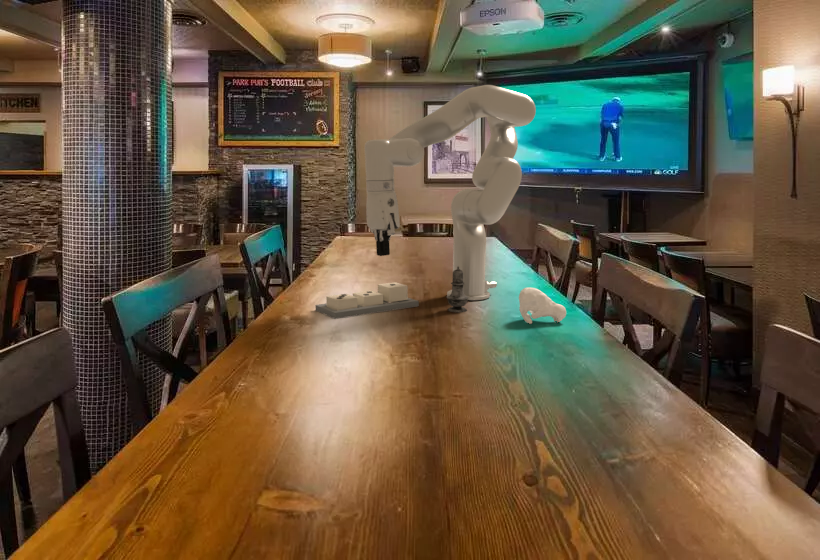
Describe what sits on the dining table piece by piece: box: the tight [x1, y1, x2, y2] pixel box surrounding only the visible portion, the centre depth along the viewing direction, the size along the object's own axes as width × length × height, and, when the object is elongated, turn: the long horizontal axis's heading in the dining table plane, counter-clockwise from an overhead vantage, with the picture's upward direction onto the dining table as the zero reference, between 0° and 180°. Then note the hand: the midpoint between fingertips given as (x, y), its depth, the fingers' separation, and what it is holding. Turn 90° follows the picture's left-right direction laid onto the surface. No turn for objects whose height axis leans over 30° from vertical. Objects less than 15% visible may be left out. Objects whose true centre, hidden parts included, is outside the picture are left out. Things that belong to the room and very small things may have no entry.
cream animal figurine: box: [518, 287, 567, 325], centre depth 154 cm, size 6×8×12 cm
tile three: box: [325, 293, 358, 311], centre depth 163 cm, size 6×6×4 cm
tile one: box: [377, 281, 409, 303], centre depth 172 cm, size 6×6×4 cm
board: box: [314, 297, 420, 319], centre depth 168 cm, size 11×26×2 cm, turn 125°
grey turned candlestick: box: [446, 266, 468, 313], centre depth 166 cm, size 6×6×12 cm
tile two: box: [352, 290, 383, 307], centre depth 168 cm, size 6×6×4 cm
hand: (383, 255), depth 168 cm, fingers closed
